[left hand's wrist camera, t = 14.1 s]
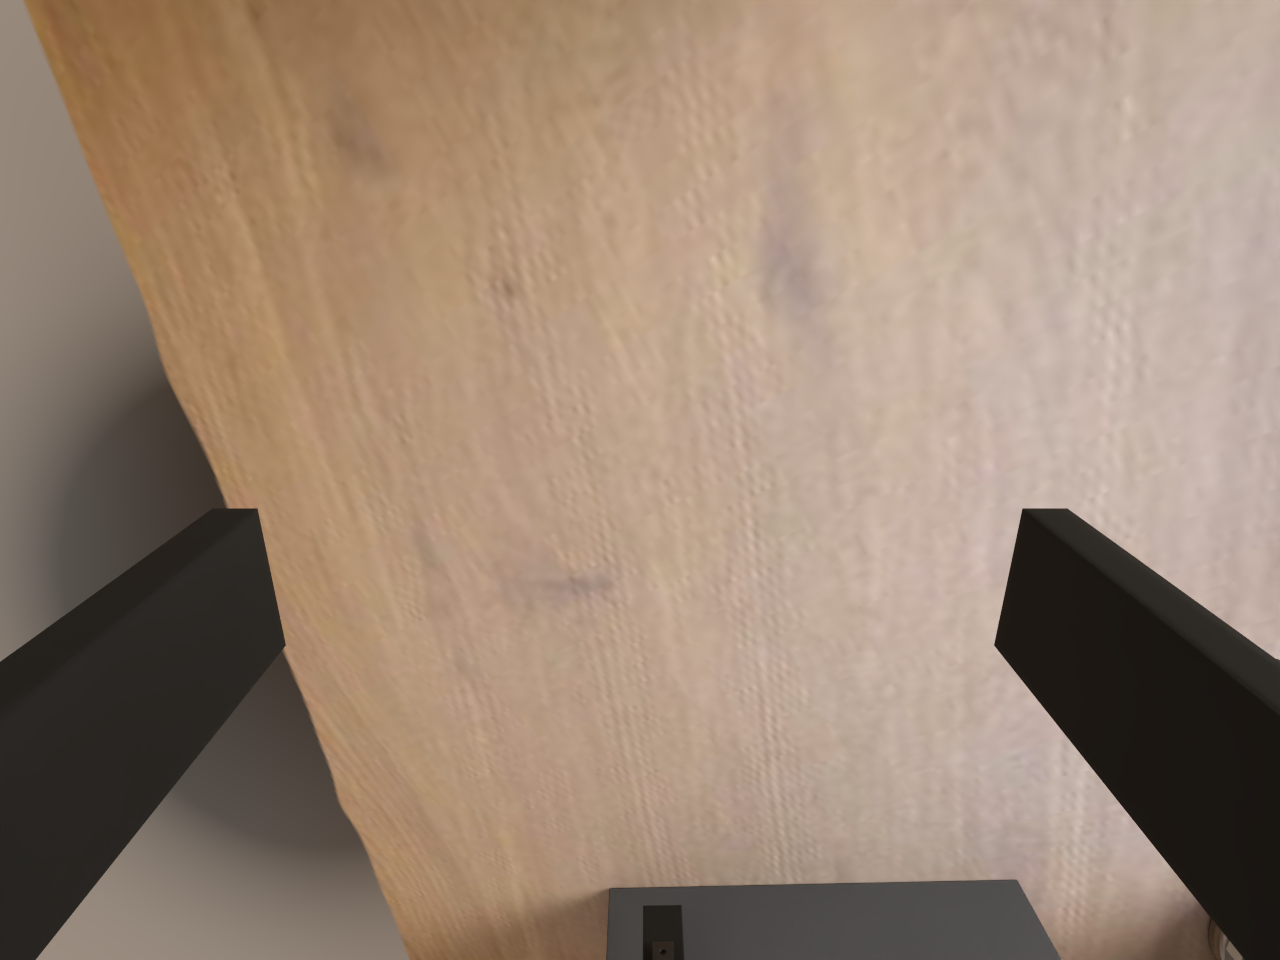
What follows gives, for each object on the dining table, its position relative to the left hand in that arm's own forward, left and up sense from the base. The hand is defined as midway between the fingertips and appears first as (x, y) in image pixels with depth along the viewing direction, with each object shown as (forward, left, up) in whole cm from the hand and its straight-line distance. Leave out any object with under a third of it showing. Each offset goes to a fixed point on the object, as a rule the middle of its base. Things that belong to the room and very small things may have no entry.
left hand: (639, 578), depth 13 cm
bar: (+47, +14, -30) cm, 57 cm away
